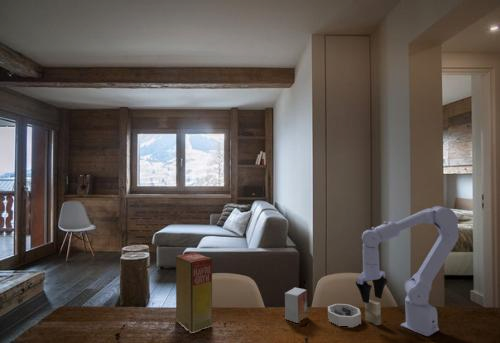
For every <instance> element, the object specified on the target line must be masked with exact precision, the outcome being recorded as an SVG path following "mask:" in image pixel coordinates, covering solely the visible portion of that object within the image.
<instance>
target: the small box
mask: <svg viewBox="0 0 500 343" xmlns="http://www.w3.org/2000/svg"><path fill="white" fill-rule="evenodd" d="M284 312H285V314H284V316H285V319H287V320H290V321H293V322H296V323H299V322H300V321H301V320H303V319H304V318H305V317H306V316H307V317H308V290H307V289H305V288H299V287H293V288H292V289H290V290H288V291H286V292H284ZM305 319H306V318H305ZM305 319H304V320H305ZM304 320H303V321H304ZM300 323H301V322H300ZM300 323H299V324H300Z"/></svg>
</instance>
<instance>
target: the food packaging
mask: <svg viewBox="0 0 500 343" xmlns="http://www.w3.org/2000/svg"><path fill="white" fill-rule="evenodd" d="M176 318H177V319H178V320H179V321H180V322H181V323H182V324H183V325H184V326H185V327H186V328H187V329H189V330H190V331H191V332H193V331H196V330H199V329H202V328H205V327H208V326H211V325H212V326H213V258H211V257H208V256H206V255H203V254H200V253H197V252H191V253H185V254H180V255H176V256H175V319H176Z"/></svg>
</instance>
